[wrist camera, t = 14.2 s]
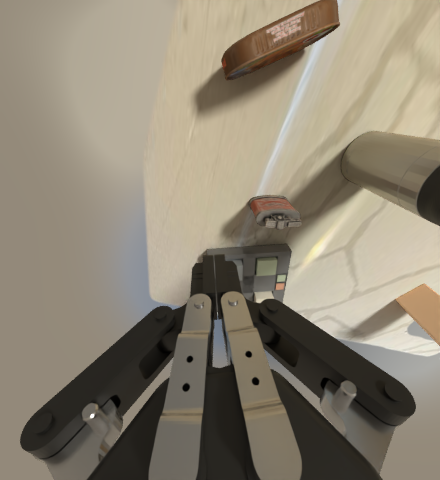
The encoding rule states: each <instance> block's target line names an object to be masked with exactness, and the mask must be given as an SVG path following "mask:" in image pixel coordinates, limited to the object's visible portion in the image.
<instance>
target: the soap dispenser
mask: <svg viewBox="0 0 440 480" xmlns="http://www.w3.org/2000/svg"><path fill="white" fill-rule="evenodd" d="M396 301H397V302H398V303H399V304H400V305H401V307H402V308H403V309H404V310H405V311H406V312H407V313H408V314H409V315H410V316H411V317H412V318H413V319H414V320H415V321H416V322H417V323H418V324H419V325H420V326H421V327H422V328H423V329H424V330H425V331H426V332H427V333H428V334H429V335H430V337H431V338H432V339H433V340H434V341H435V342H436V343H437V344H438V345H439V346H440V295H438V294H437V293H436V292H435V291H433V290H432V289H431V288H430V287H428V286H427V285H426V284H422V285H420V286H418V287H417V288H415V289H413V290H411V291H409V292H408V293H406V294H404V295H402V296H400V297H398V298H397V299H396Z"/></svg>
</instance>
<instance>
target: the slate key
mask: <svg viewBox="0 0 440 480" xmlns="http://www.w3.org/2000/svg"><path fill="white" fill-rule="evenodd" d="M225 261H233V262H234V263H235V264H236V265H237V270H238V275H239V280H240V281H242V277H243V264H242V260H241V259H232V260H225Z"/></svg>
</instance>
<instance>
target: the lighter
mask: <svg viewBox="0 0 440 480" xmlns="http://www.w3.org/2000/svg"><path fill="white" fill-rule="evenodd" d="M249 206H250V208H251V209H252V210H253V213H254V215H255V217H256V221H257V224H259V225H261V226H266V227H267V228H276V229H283V228H284V227H300V226H301V224H302V222H301V220H300V219H301V215H300V213H299V212H298V211H297V210H295V209H294V208H293V207H292V206H291V205H290V203H289V202H288V200H287V199H286V197H283V196H278V195H263V196H257V197H253V198H251V199H250V201H249Z"/></svg>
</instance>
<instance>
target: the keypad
mask: <svg viewBox="0 0 440 480" xmlns="http://www.w3.org/2000/svg"><path fill="white" fill-rule="evenodd" d="M291 252H292V251H291V249H290V248H289V246H288V244H278V245H263V246H248V247H232V248H217V249H207V255H213V258H214V255H216V254H225V260H232V259H241V260H242V264H243V277H242V281H240V285H241V290H242V294H243V296H244V297H245V298H246V299H248V300H250V301H252V302H254V292H266V291H272V294H273V297H274V299H276V300H278V301H280V302H281V303H283V297H284V291H285V286H286V280H287V275H288V269H289V263H290V258H291ZM262 257H276V258H277V267H276V274H275V275H267V276H257V275H256V272H255V260H256V258H262ZM214 273H215V259H214ZM215 289H216V275H215ZM216 305H217V290H216ZM217 312H218V305H217Z"/></svg>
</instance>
